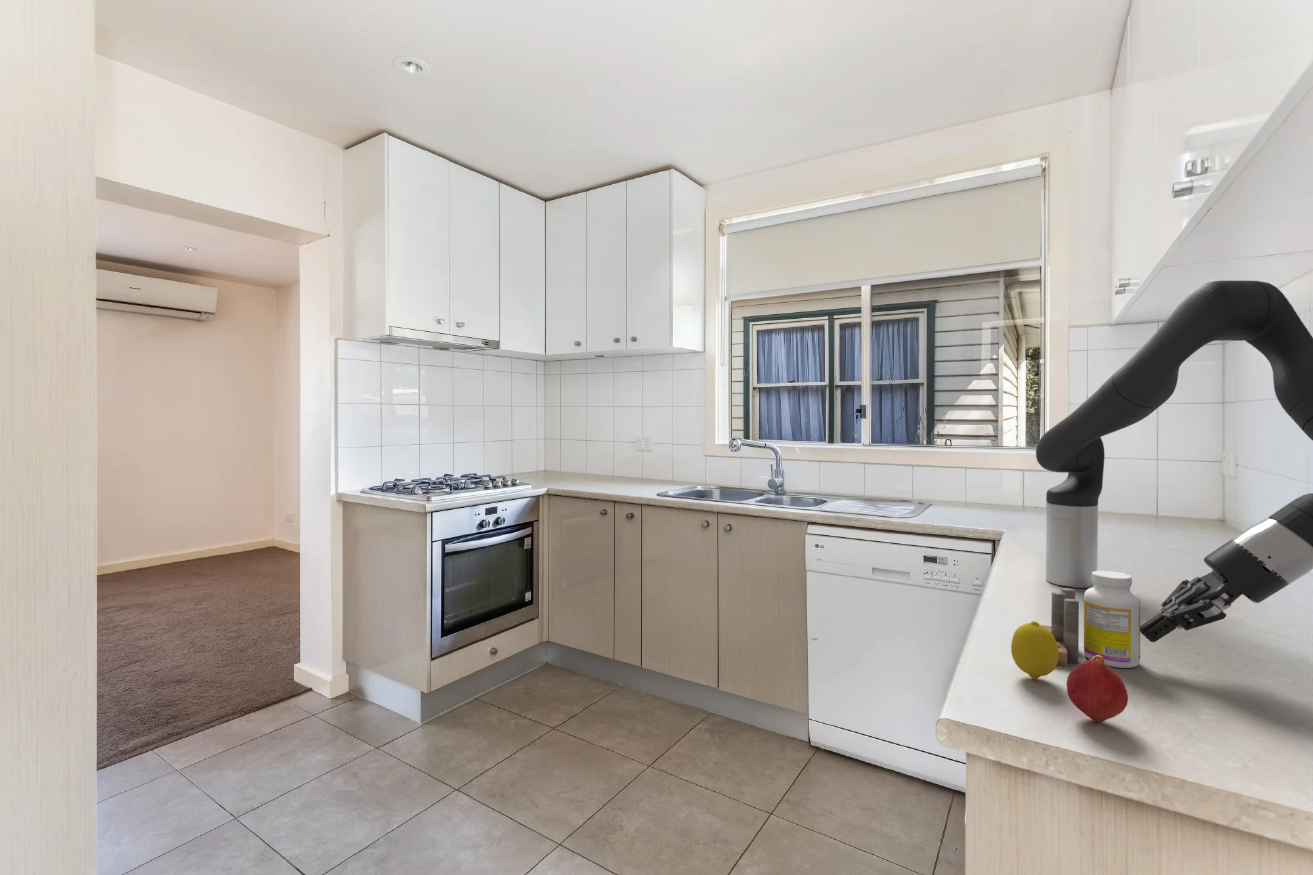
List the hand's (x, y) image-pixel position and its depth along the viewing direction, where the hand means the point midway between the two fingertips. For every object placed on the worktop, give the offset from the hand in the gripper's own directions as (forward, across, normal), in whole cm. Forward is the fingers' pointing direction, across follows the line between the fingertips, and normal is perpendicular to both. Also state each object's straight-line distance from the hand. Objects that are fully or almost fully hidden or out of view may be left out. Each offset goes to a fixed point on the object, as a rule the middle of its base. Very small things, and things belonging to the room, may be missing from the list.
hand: (1144, 635), depth 86 cm
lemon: (+13, +13, -7) cm, 20 cm away
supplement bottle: (+6, 0, 0) cm, 6 cm away
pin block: (+11, 0, -5) cm, 13 cm away
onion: (+9, +23, -2) cm, 25 cm away
